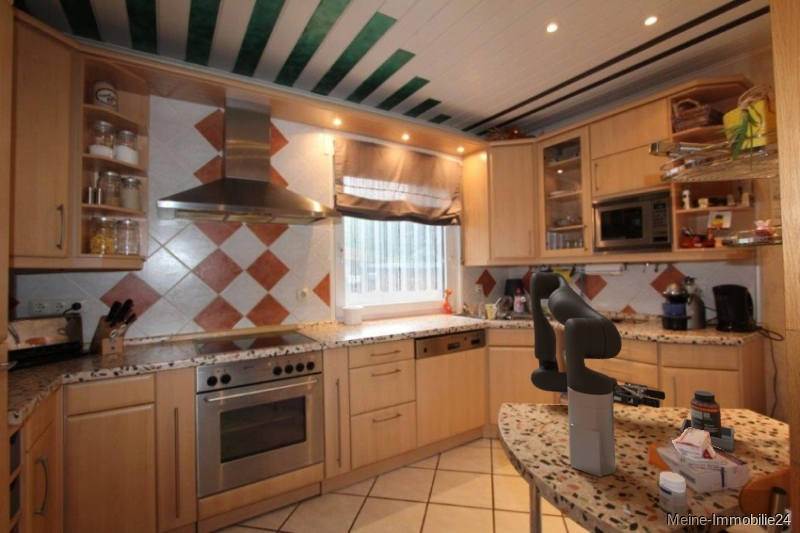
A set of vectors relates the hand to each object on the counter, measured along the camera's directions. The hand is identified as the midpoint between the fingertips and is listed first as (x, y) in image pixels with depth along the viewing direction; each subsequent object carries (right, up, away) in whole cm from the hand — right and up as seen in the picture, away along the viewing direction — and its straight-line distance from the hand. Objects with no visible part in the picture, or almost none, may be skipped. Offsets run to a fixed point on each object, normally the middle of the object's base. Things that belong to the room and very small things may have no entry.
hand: (662, 399), depth 98 cm
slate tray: (+7, -8, -7) cm, 12 cm away
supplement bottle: (+7, -7, -6) cm, 12 cm away
